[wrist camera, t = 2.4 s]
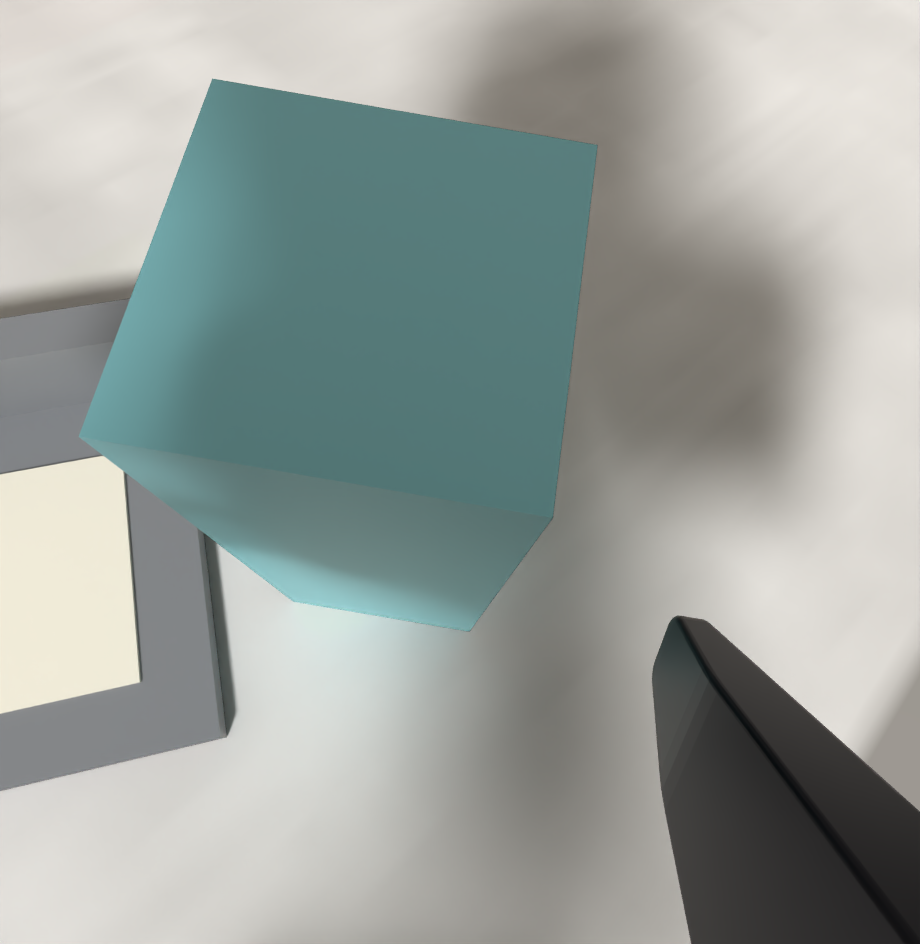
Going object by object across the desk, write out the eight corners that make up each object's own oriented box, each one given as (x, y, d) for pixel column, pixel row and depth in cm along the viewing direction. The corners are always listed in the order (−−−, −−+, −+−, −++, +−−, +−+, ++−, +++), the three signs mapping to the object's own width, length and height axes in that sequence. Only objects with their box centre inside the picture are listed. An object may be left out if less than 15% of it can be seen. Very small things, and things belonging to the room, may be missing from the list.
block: (469, 631, 19) (553, 517, 7) (293, 601, 19) (78, 436, 7) (494, 465, 20) (597, 145, 9) (332, 437, 20) (212, 78, 9)
